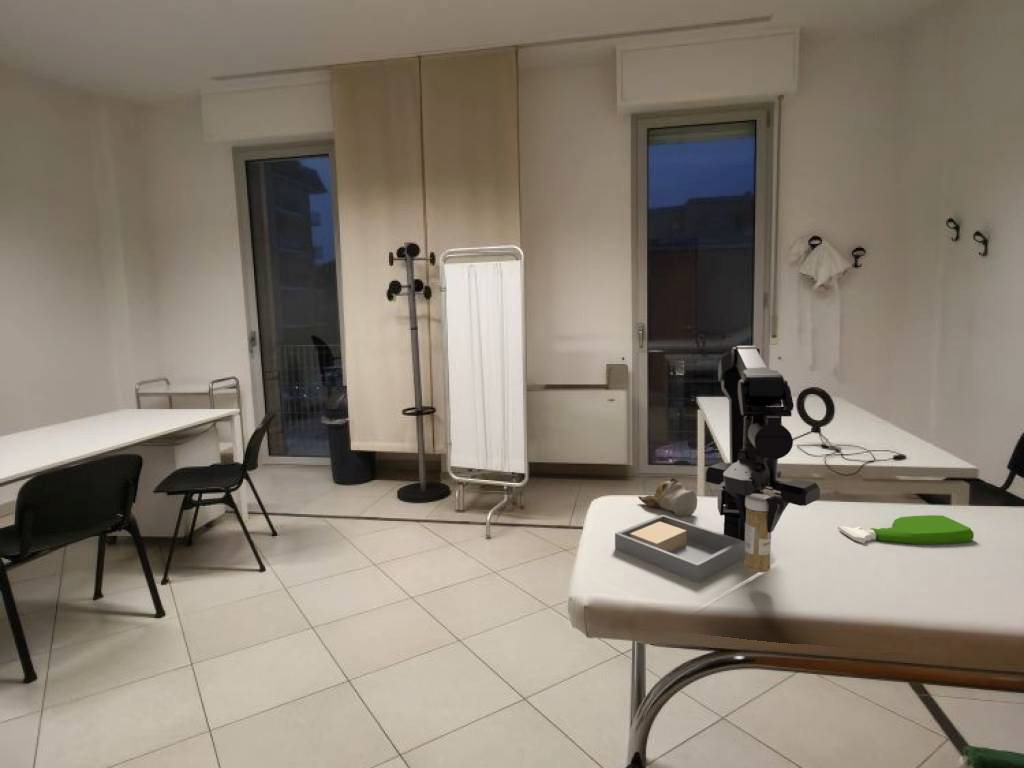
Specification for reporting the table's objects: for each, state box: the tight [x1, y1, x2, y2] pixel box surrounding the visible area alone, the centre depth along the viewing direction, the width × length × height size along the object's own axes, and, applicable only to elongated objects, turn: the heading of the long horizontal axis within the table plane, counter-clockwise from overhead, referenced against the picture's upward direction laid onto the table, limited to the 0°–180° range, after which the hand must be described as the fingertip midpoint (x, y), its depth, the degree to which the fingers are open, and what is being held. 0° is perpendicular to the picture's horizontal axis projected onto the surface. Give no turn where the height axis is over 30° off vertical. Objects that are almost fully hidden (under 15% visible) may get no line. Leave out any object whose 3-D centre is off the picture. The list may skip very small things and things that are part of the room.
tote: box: [614, 514, 745, 584], centre depth 119 cm, size 16×20×4 cm
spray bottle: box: [837, 514, 975, 545], centre depth 126 cm, size 3×11×25 cm
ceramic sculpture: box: [637, 478, 698, 517], centre depth 145 cm, size 11×9×15 cm
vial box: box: [630, 522, 687, 552], centre depth 123 cm, size 10×7×3 cm
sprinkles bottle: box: [743, 494, 772, 574], centre depth 105 cm, size 5×5×14 cm
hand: (757, 528), depth 105 cm, fingers closed on sprinkles bottle, 4 cm apart
